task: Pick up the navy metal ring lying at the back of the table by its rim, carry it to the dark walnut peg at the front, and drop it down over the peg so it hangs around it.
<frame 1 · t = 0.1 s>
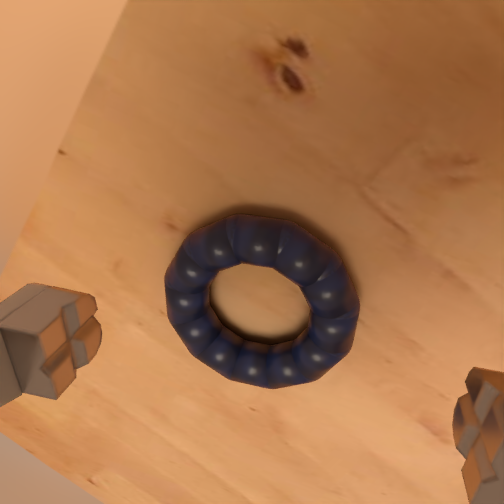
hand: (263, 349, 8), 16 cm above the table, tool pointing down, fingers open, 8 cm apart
ring: (257, 307, 26), point 1 cm above the table
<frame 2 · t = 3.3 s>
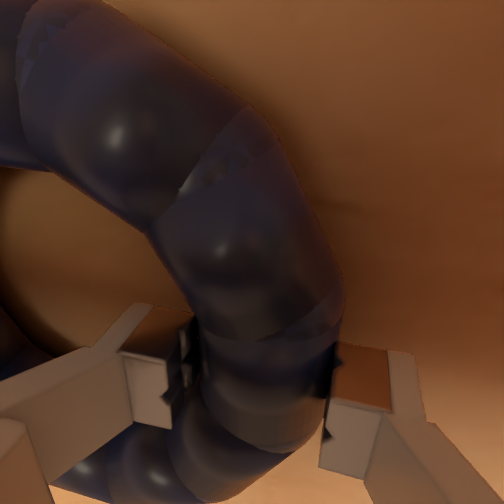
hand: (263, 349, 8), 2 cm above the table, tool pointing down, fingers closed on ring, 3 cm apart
ring: (70, 305, 10), point 2 cm above the table, touching gripper
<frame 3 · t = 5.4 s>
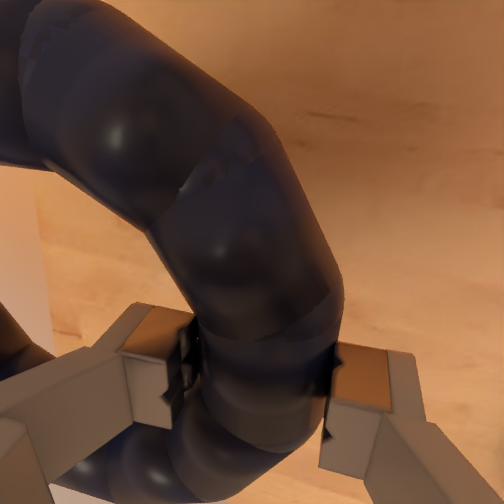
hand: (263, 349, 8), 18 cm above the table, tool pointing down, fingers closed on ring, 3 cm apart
ring: (71, 304, 10), point 18 cm above the table, touching gripper
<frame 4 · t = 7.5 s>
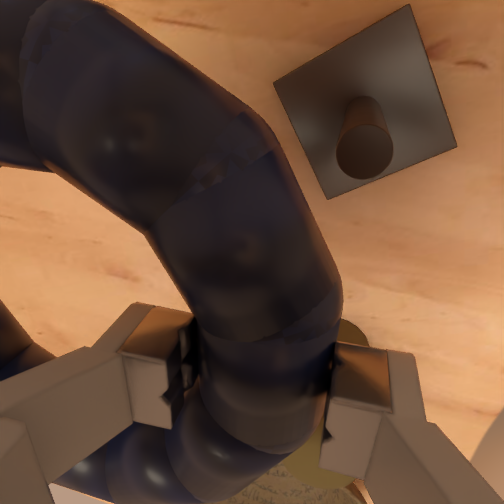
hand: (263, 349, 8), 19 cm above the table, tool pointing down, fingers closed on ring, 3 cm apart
ring: (71, 304, 10), point 19 cm above the table, touching gripper
bowl: (278, 442, 39), on the table
post: (363, 112, 23), on the table
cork: (331, 345, 32), on the table
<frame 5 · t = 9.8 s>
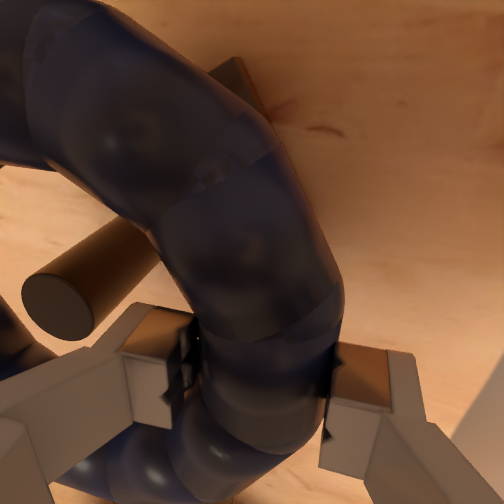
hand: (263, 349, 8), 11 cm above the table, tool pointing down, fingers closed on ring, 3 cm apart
ring: (73, 303, 10), point 11 cm above the table, touching gripper
post: (209, 179, 19), on the table
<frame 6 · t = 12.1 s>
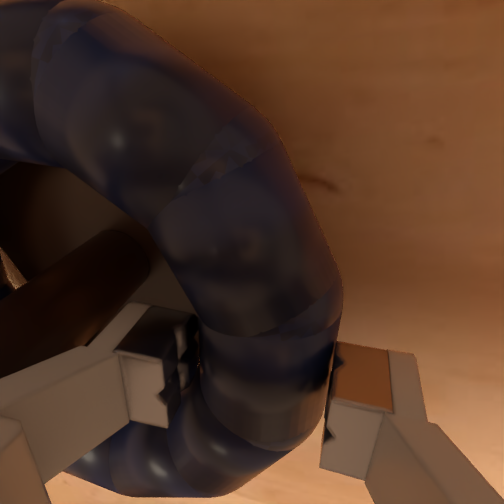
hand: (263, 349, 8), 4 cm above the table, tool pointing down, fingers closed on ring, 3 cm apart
ring: (81, 296, 10), point 3 cm above the table, touching gripper
post: (135, 245, 13), on the table
when the fingers open (4 cm above the table, at t = 12.1 s): ring stays where it is, resting on post.
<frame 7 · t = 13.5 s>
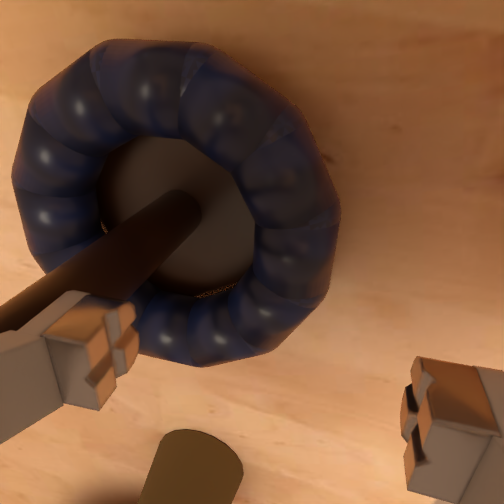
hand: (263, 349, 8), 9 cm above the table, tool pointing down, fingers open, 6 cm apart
ring: (169, 226, 15), point 2 cm above the table, touching post
post: (188, 204, 17), on the table
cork: (201, 458, 26), on the table
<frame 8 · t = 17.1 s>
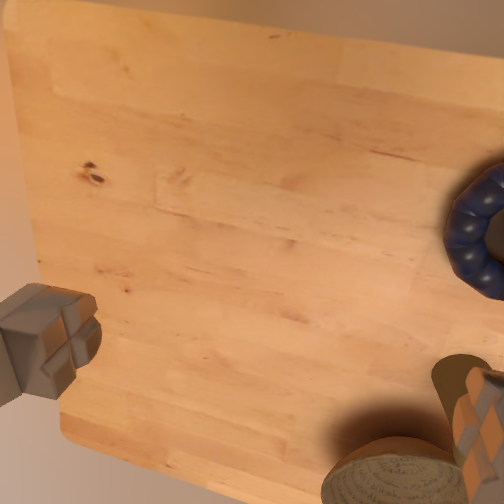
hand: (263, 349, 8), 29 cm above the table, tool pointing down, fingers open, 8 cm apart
bowl: (399, 447, 49), on the table
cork: (461, 374, 42), on the table
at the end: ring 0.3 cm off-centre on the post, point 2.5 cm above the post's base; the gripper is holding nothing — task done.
